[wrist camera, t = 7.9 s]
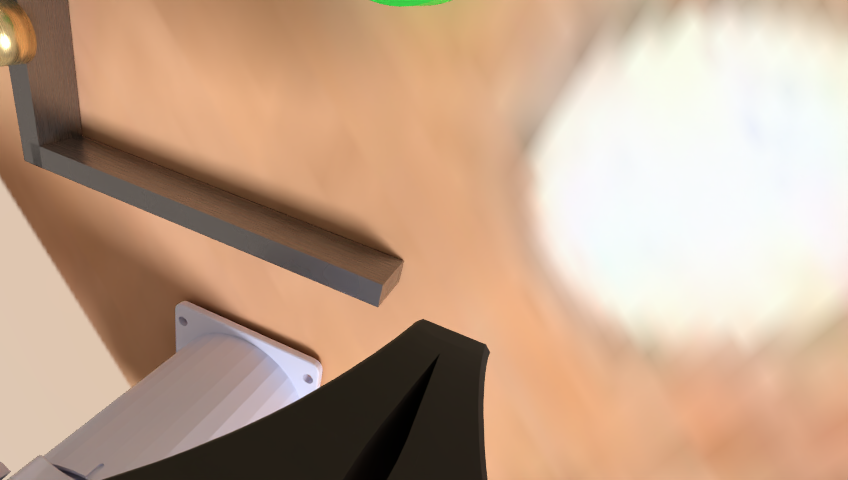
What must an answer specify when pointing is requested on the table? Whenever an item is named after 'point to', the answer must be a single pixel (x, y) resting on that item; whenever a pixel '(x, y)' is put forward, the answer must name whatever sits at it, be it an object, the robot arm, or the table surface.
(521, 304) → the table surface
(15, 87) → the grey frame
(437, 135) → the table surface
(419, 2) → the mechanical part
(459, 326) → the table surface
